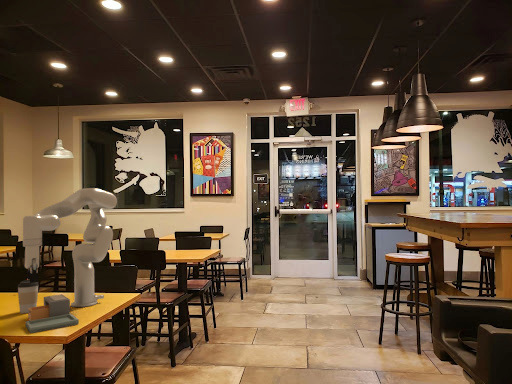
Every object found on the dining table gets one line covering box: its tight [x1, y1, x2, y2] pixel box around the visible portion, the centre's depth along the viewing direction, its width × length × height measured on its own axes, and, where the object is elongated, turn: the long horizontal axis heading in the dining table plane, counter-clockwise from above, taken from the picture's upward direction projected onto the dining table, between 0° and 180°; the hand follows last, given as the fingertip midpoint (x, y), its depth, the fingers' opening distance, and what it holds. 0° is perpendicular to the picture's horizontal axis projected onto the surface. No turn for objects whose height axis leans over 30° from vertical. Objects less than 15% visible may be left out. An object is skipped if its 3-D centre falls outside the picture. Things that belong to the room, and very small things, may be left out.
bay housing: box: [43, 294, 71, 317], centre depth 183 cm, size 16×8×8 cm, turn 38°
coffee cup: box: [17, 279, 39, 314], centre depth 192 cm, size 9×9×15 cm
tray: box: [25, 313, 80, 334], centre depth 166 cm, size 18×13×2 cm
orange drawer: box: [27, 305, 49, 321], centre depth 179 cm, size 12×7×5 cm, turn 129°
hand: (32, 280), depth 176 cm, fingers open, 9 cm apart
